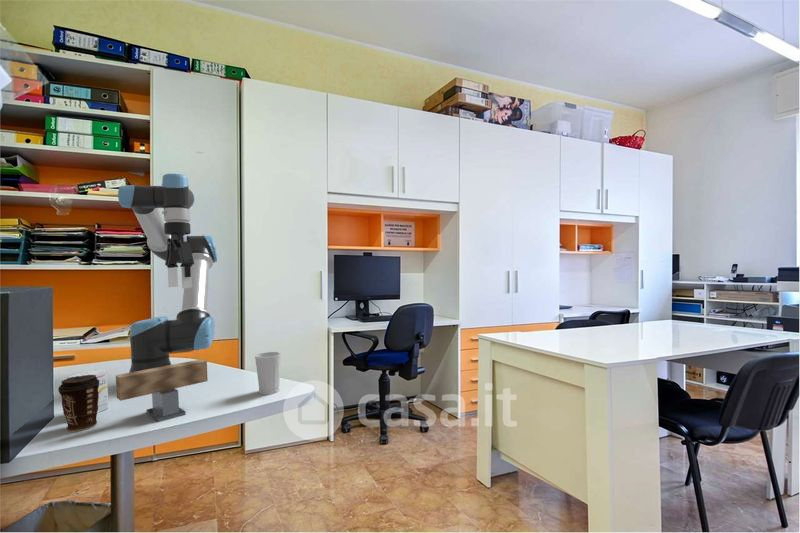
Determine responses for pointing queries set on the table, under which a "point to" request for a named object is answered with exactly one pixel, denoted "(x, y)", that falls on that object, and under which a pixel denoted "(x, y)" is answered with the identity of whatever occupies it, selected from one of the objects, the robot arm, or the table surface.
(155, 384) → the walnut beam
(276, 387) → the cup
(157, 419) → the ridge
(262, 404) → the table surface
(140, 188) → the robot arm
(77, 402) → the coffee cup
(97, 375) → the ink box
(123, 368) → the table surface
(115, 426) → the table surface
